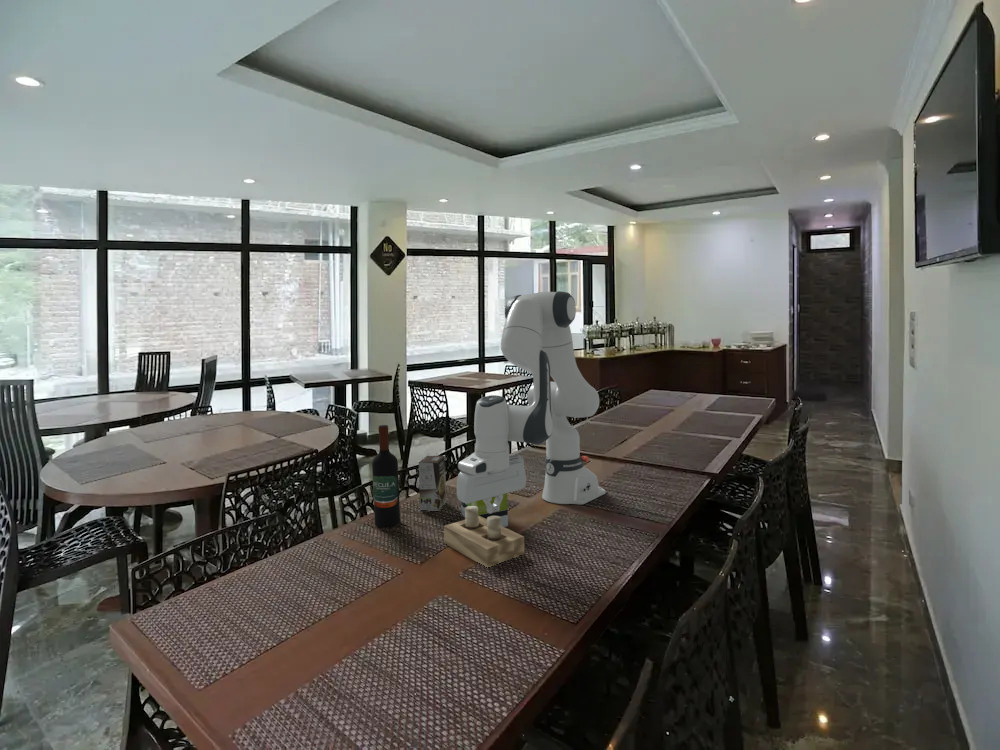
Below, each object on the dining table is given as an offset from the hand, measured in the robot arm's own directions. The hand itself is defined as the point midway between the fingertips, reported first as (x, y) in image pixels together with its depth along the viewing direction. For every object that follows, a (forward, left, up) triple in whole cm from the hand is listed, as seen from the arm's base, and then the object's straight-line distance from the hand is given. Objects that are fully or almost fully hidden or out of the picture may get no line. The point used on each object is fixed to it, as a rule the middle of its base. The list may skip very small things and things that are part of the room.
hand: (493, 511), depth 151 cm
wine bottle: (+11, -39, -12) cm, 42 cm away
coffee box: (-7, -42, -12) cm, 44 cm away
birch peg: (0, 0, -12) cm, 12 cm away
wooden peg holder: (0, -5, -12) cm, 13 cm away
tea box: (-12, -21, -12) cm, 27 cm away
